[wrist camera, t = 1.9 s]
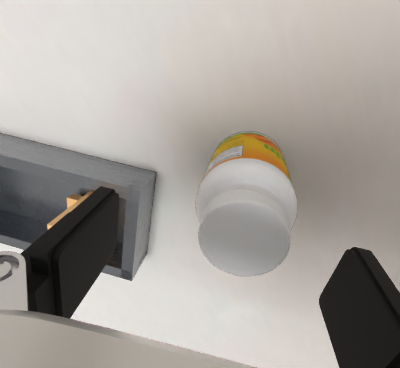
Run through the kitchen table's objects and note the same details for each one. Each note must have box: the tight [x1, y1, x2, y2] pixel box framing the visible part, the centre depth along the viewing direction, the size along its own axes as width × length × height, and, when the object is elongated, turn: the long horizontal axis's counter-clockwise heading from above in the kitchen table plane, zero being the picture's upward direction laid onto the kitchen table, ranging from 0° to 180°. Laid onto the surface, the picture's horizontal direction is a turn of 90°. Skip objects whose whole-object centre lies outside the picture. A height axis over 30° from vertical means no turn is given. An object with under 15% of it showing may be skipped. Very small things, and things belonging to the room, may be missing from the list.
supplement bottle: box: [196, 132, 297, 276], centre depth 15 cm, size 5×5×10 cm
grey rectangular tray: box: [0, 133, 156, 281], centre depth 22 cm, size 18×9×5 cm, turn 79°
